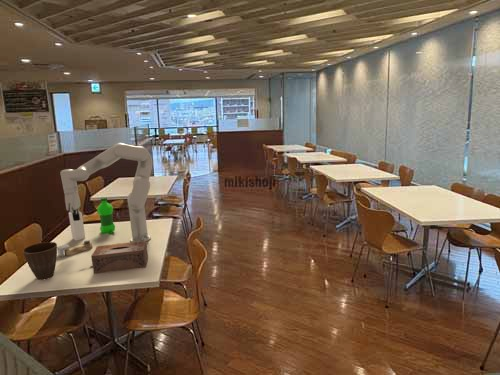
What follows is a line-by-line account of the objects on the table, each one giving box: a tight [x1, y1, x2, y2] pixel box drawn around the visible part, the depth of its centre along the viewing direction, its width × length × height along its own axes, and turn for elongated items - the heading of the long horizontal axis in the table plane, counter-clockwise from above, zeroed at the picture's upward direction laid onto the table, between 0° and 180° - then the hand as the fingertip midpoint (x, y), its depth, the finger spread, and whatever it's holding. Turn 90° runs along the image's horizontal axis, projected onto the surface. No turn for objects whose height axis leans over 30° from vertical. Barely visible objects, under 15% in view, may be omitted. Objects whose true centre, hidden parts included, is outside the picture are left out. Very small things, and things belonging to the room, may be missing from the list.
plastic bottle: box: [96, 196, 116, 235], centre depth 250 cm, size 10×10×25 cm
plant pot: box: [22, 241, 58, 281], centre depth 186 cm, size 15×15×16 cm
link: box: [63, 240, 93, 257], centre depth 217 cm, size 16×5×4 cm, turn 142°
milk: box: [68, 211, 86, 241], centre depth 239 cm, size 6×6×22 cm
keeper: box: [57, 243, 71, 258], centre depth 212 cm, size 5×6×6 cm
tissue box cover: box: [90, 241, 149, 275], centre depth 196 cm, size 26×14×10 cm, turn 101°
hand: (76, 220), depth 220 cm, fingers closed
